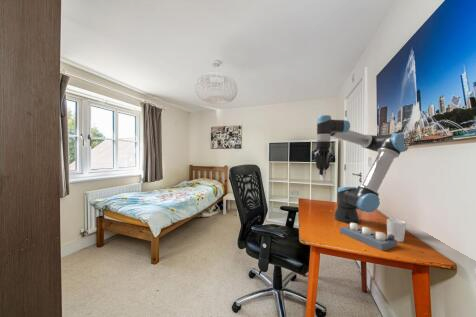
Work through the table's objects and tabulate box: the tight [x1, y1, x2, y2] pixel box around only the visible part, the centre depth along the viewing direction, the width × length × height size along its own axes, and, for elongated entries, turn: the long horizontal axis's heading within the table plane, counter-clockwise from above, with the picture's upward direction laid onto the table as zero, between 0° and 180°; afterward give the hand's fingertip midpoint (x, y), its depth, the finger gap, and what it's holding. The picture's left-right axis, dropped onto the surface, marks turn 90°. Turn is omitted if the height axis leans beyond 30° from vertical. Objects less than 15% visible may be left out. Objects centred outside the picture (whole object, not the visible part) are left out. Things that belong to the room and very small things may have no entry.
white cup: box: [386, 218, 407, 243], centre depth 102 cm, size 8×8×10 cm
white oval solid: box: [361, 226, 372, 236], centre depth 102 cm, size 4×4×5 cm
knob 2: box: [375, 231, 387, 242], centre depth 95 cm, size 4×4×5 cm
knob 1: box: [349, 223, 359, 231], centre depth 108 cm, size 4×4×5 cm
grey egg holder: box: [339, 225, 398, 251], centre depth 102 cm, size 12×22×6 cm, turn 23°
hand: (322, 180), depth 116 cm, fingers closed
